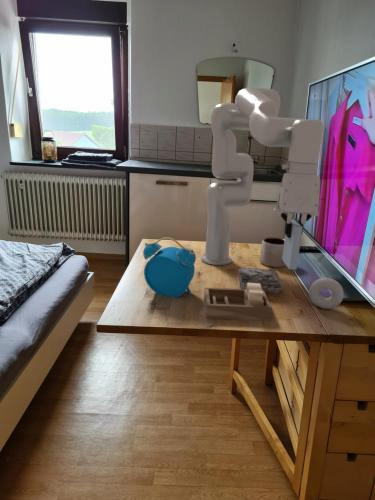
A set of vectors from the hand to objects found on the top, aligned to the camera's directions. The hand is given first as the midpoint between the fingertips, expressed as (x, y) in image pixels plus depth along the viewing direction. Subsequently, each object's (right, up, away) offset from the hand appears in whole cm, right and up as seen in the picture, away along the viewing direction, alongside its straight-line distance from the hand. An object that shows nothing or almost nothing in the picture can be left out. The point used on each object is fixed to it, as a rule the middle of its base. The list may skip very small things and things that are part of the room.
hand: (292, 236), depth 105 cm
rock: (-5, -18, +22) cm, 29 cm away
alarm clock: (-35, -18, +17) cm, 43 cm away
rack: (-15, -22, +7) cm, 28 cm away
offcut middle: (-10, -19, +6) cm, 22 cm away
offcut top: (-10, -17, +5) cm, 20 cm away
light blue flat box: (0, -8, +3) cm, 8 cm away
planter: (+6, -9, +49) cm, 51 cm away
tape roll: (+13, -22, +13) cm, 28 cm away
